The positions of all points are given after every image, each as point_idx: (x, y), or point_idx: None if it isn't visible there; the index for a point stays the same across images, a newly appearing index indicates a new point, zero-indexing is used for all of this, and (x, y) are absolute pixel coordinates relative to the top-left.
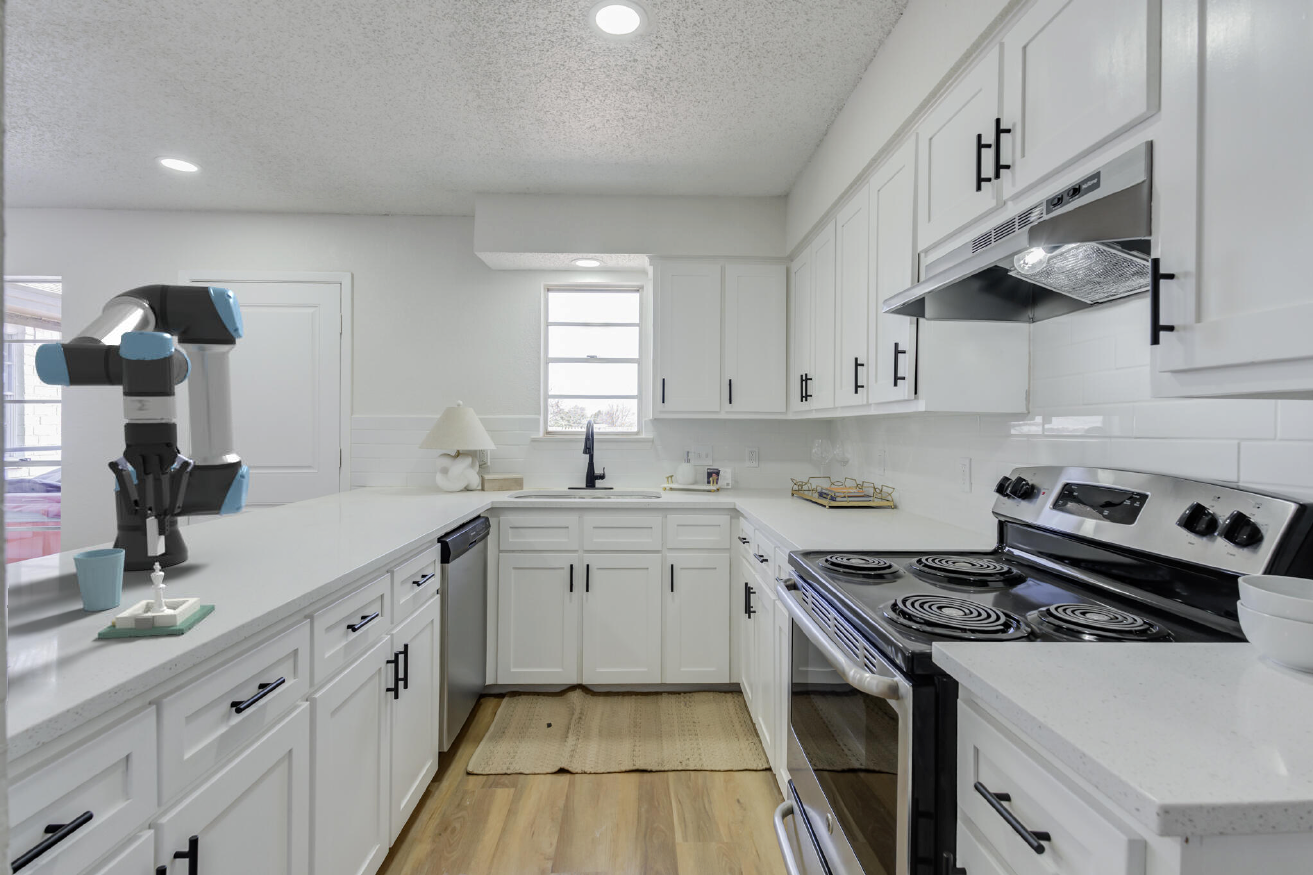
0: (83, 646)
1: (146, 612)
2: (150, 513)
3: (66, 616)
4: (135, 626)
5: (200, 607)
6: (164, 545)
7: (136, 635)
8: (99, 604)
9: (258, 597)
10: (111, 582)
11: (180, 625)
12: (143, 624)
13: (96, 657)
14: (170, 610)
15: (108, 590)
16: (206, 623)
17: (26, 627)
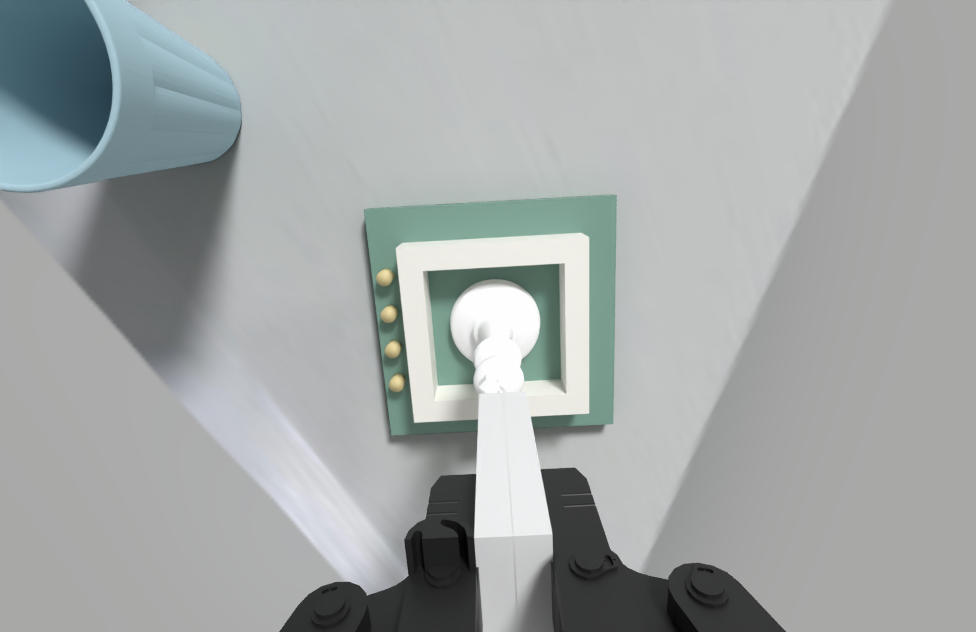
0: (393, 475)
1: (427, 271)
2: (477, 623)
3: (148, 213)
4: None
5: (579, 224)
6: (529, 410)
7: None
8: (203, 162)
9: (721, 42)
10: (189, 134)
11: (592, 398)
12: None
13: None
14: (524, 316)
15: (200, 145)
16: (635, 331)
17: (113, 312)
